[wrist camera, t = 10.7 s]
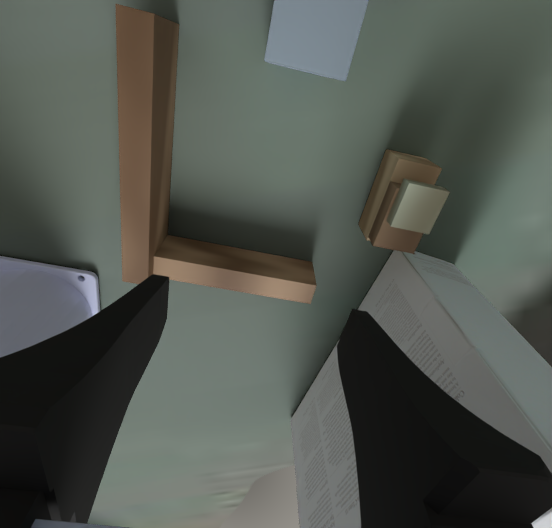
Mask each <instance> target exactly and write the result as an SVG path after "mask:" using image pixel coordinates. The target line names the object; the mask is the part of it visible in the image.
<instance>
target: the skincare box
mask: <svg viewBox="0 0 552 528" xmlns="http://www.w3.org/2000/svg"><path fill="white" fill-rule="evenodd" d="M358 310H362V311H367V312H368V313H369V314H370V315H371V316H372V317H373V318H374V319H375V321H376V322H377V323H378V324H379V325H380V326H381V327H382V329H383V330H384V331H385V332H386V333H387V334H388V336H389V337H390V338H391V339H392V340H393V341H394V342H395V343H396V345H397V346H398V347H399V348H400V349H401V350H402V351H403V352H404V353H405V354H406V355H407V357H408V358H409V359H410V360H411V361H412V362H413V363H414V364H415V365H416V366H417V367H418V368H419V369H420V370H421V371H422V372H423V373H424V374H426V375H427V376H428V377H429V378H430V379H431V380H432V381H433V382H434V383H436V384H437V385H438V386H439V387H440V388H441V389H442V390H444V391H445V392H446V393H447V394H448V395H450V396H451V397H452V398H453V399H455V400H456V401H457V402H459V403H460V404H461V405H462V406H464V407H465V408H466V409H468V410H469V411H470V412H472V413H473V414H475V415H476V416H477V417H479V418H480V419H482V420H483V421H485V422H486V423H487V424H489V425H490V426H492V427H493V428H495V429H496V430H498V431H499V432H501V433H503V434H504V435H506V436H507V437H509V438H511V439H512V440H514V441H516V442H517V443H519V444H521V445H522V446H524V447H526V448H527V449H529V450H531V451H532V452H534V453H536V454H537V455H539V456H540V457H541V458H542V460H543V461H544V463H545V464H546V466H547V467H548V469H549V470H550V472H551V473H552V367H551V366H550V365H549V364H548V363H547V362H546V361H545V360H544V359H543V358H542V357H541V356H540V355H539V353H538V352H537V351H536V350H535V349H534V348H533V347H532V346H531V345H530V344H529V343H528V342H527V341H526V340H525V339H524V338H523V337H522V336H521V335H520V334H519V333H518V331H517V330H516V329H515V328H514V327H513V326H512V325H511V324H510V323H509V322H508V321H507V320H506V319H505V318H504V317H503V316H502V315H501V314H500V313H499V312H498V310H497V309H496V308H495V307H494V306H493V305H492V304H491V303H490V302H489V301H488V300H487V299H486V298H485V297H484V296H483V295H482V294H481V293H480V292H479V291H478V289H477V288H476V287H475V286H474V285H473V284H472V283H471V282H470V281H469V280H468V279H467V278H466V277H465V276H464V275H463V274H462V272H461V271H460V270H459V269H458V268H457V267H456V266H455V265H454V264H452V263H449V262H447V261H444V260H441V259H438V258H435V257H431V256H428V255H425V254H423V253H420V252H417V251H415V252H414V254H412V253H407V252H402V251H396V250H394V251H393V252H392V254H391V256H390V257H389V259H388V261H387V262H386V264H385V265H384V267H383V269H382V270H381V272H380V274H379V275H378V277H377V279H376V280H375V282H374V283H373V285H372V287H371V288H370V290H369V292H368V293H367V295H366V297H365V298H364V300H363V301H362V303H361V305H360V306H359V308H358ZM339 340H340V339H339ZM338 342H339V341H338ZM338 342H337V344H338ZM337 344H336V346H335V347H334V349H333V351H332V352H331V354H330V356H329V357H328V359H327V361H326V362H325V364H324V365H323V367H322V369H321V370H320V372H319V374H318V375H317V377H316V379H315V380H314V382H313V384H312V385H311V387H310V389H309V390H308V392H307V394H306V395H305V397H304V399H303V400H302V402H301V404H300V405H299V407H298V409H297V410H296V412H295V413H294V415H293V417H292V418H291V431H292V441H293V452H294V463H295V473H296V484H297V499H298V513H299V524H300V528H361V516H360V502H359V488H358V477H357V467H356V457H355V449H354V441H353V433H352V427H351V422H350V418H349V413H348V409H347V404H346V400H345V396H344V391H343V387H342V382H341V378H340V373H339V367H338V356H337ZM531 524H532V526H533V527H534V528H552V508H551V509H550V510H548V511H547V512H546V513H544V514H543V515H542V516H540V517H539V518H538V519H536V520H535V521H534V522H532V523H531Z"/></svg>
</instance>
